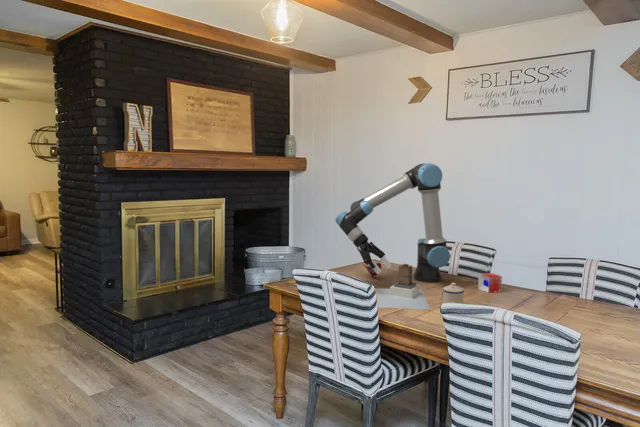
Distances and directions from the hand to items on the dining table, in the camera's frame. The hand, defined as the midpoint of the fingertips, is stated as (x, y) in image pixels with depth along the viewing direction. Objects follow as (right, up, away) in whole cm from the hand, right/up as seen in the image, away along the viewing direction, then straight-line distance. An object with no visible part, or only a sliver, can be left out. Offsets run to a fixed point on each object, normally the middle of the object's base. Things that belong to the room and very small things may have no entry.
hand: (385, 270), depth 234 cm
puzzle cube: (+55, -11, +7) cm, 56 cm away
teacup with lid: (+26, -14, -23) cm, 38 cm away
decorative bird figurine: (-3, -8, +31) cm, 32 cm away
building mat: (+5, -13, -11) cm, 18 cm away
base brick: (+9, -12, -4) cm, 16 cm away
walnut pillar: (+9, -7, -5) cm, 13 cm away
